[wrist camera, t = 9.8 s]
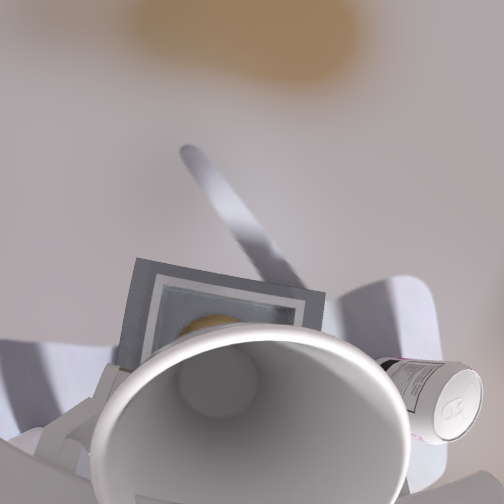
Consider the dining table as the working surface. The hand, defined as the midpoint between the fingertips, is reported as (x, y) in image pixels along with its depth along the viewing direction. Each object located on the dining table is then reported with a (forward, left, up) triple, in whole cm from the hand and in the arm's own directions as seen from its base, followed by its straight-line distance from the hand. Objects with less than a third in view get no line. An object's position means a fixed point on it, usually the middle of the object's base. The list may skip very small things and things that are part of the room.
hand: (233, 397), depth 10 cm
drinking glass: (0, -1, -9) cm, 9 cm away
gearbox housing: (0, -1, -23) cm, 23 cm away
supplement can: (+21, -3, -23) cm, 32 cm away
